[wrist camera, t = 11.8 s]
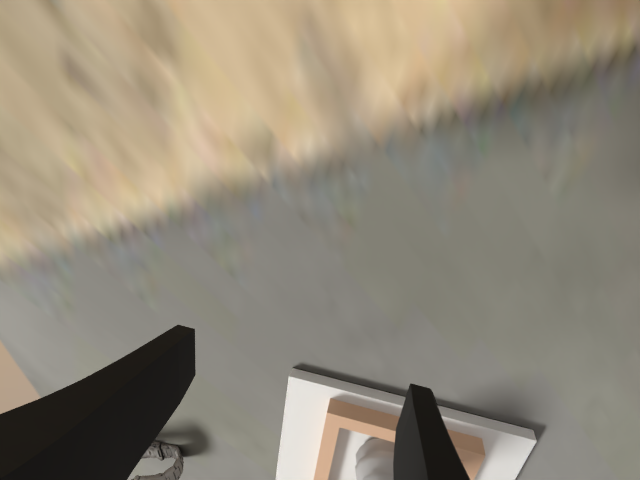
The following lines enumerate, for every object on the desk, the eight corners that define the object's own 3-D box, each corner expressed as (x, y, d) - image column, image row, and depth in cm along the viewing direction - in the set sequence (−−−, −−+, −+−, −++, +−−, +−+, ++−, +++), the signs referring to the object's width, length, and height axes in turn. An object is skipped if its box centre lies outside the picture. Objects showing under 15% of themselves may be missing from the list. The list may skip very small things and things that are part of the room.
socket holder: (533, 429, 24) (543, 458, 22) (475, 534, 29) (479, 564, 27) (292, 367, 26) (283, 389, 24) (277, 475, 31) (270, 500, 29)
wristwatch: (193, 465, 33) (160, 526, 29) (132, 454, 34) (92, 512, 30) (185, 437, 32) (149, 496, 27) (122, 427, 33) (78, 483, 29)
